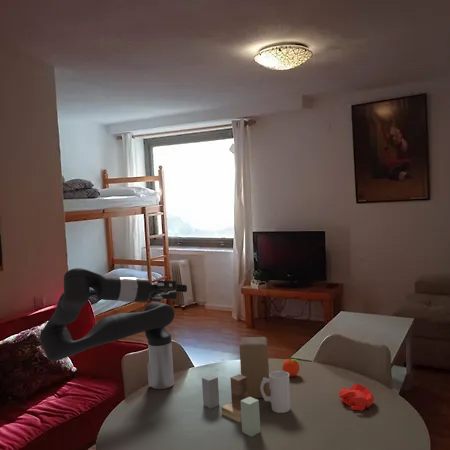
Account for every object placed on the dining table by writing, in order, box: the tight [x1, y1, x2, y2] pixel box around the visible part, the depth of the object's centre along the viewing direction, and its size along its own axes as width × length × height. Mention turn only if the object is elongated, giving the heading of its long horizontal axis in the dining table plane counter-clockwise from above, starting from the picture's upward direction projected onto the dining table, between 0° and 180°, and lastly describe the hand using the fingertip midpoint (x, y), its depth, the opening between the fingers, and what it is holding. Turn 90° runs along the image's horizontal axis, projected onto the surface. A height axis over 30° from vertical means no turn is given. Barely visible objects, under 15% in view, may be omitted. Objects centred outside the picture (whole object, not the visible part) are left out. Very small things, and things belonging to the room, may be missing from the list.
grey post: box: [201, 374, 220, 410], centre depth 161 cm, size 4×4×10 cm
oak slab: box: [220, 401, 242, 423], centre depth 153 cm, size 9×9×3 cm
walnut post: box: [229, 373, 248, 410], centre depth 153 cm, size 4×4×10 cm
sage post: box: [241, 397, 261, 437], centre depth 140 cm, size 4×4×10 cm
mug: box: [260, 370, 291, 414], centre depth 155 cm, size 10×7×12 cm, turn 82°
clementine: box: [281, 358, 303, 378], centre depth 183 cm, size 8×7×7 cm
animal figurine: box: [338, 382, 375, 412], centre depth 158 cm, size 12×15×5 cm
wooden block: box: [239, 336, 271, 399], centre depth 168 cm, size 10×10×20 cm
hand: (181, 292), depth 146 cm, fingers open, 8 cm apart
